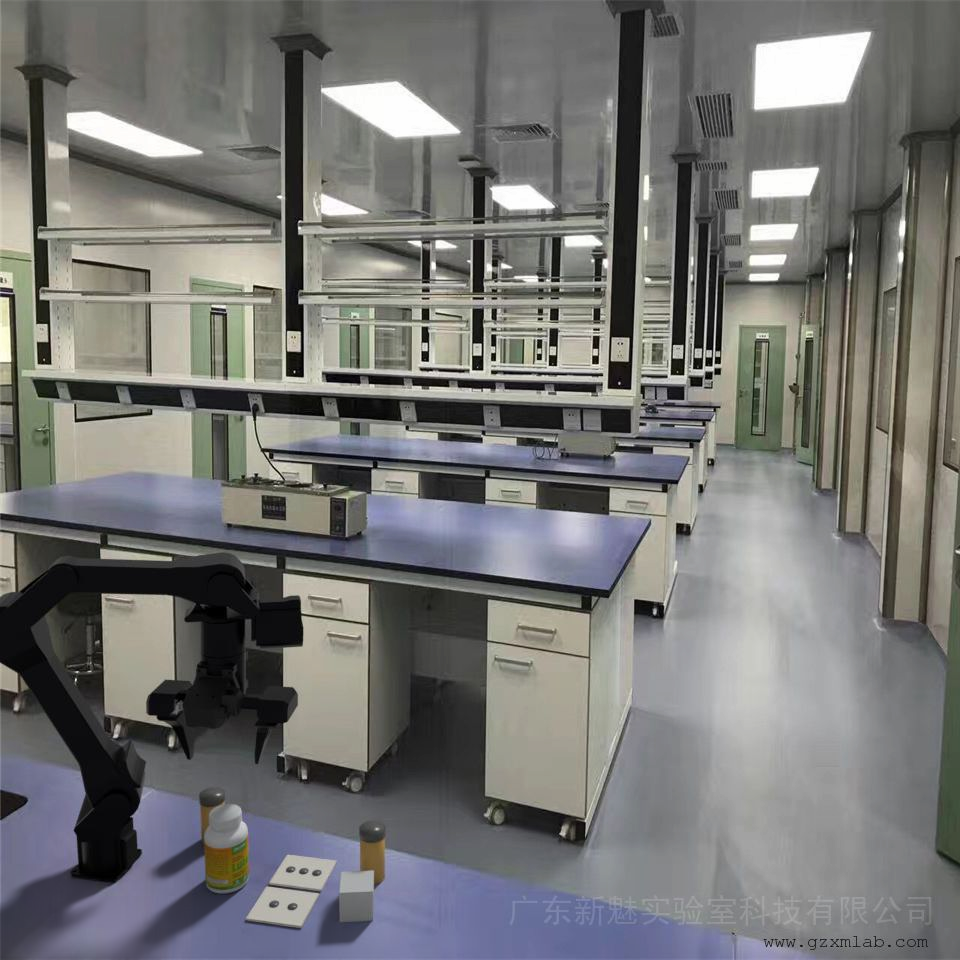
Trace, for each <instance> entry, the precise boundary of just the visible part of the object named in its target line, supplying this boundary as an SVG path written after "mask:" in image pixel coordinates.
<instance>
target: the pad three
mask: <svg viewBox="0 0 960 960" xmlns="http://www.w3.org/2000/svg"><path fill="white" fill-rule="evenodd" d="M337 864H338V860H335V859H325V858H319V857H310V856H301V855H293V854H287V855H286V856H285V858H284V859H283V860H282V862H281V864H280V865H279V866H278V868H277V870H276V872H275V873H274V874H273V875H272V876H273V877H271V879H270V881H268V882H269V883H268V884H269V886H275V887H276V886H277V887H284V888H292V889H299V890H306V891H307V890H308V891H314V892H322V891H323V889H324V887H325V886H326V884H327V881H329V879H330V877H331V874H333V871H334V870H335V868H336V866H337Z"/></svg>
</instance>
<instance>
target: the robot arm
mask: <svg viewBox="0 0 960 960" xmlns="http://www.w3.org/2000/svg"><path fill="white" fill-rule="evenodd" d="M70 594H88V595H89V594H98V595H102V594H103V595H138V596H139V595H142V596H144V595H147V596H148V595H149V596H170V597H176V598H179V599H183V600H184V601H188V602H191V603H193V604H192V605H191V606H190V607H188V608H187V609H185V613H184V622H185V623H199V646H200V647H199V650H200V651H199V653H200V655H199V659H200V660H199V662H198V663H197V665H196V669H195V670H196V671H195V677H194V680H193V683H191V681H190V680H183V679H182V680H180V679H179V680H178V679H176V680H175V679H164V680H163V681H162V682H161V683H159V685H158V686H157V687H155V689H154V690H152V691H151V692H150V693H149V694H148V695H147V698H146V701H145V702H146V703H145V706H146V707H145V708H146V709H145V711H146V714H147V715H148V716H152V717H153V716H154V717H156V719H157V721H158V722H164V723H166V724H168V725H169V726H170V727H171V728H172V730H173V731H174V733H175V735H176V737H177V738H178V741H179V744H180V745H181V748H182V750H183V752H184V754H185V757H186V759H187V761H188V760H189V761H191V760H192V759H193V758H194V755H195V754H194V753H195V742H196V741H195V740H196V739H195V728H196V727H197V728H198V727H199V728H200V727H201V728H209V729H210V730H211V729H213V730H215V729H219V728H221V727H222V726H223V725H224V724H225V722H226V720H229V719H230V718H231V717H235V718H237V717H239V716H240V713H241V711H242V710H256V717H257V718H258V719H257V721H256V722H255V724H254V728H255V731H256V732H255V733H256V735H255V744H254V745H255V746H254V764H255V765H259V764H260V763H261V760H262V758H263V757H262V756H263V754H264V751H265V749H266V747H267V743H268V741H269V738H270V735H271V732H272V730H273V729H275V728H278V727H279V726H280V725H281V724H287V723H288V722H289V720H290V719H291V717H292V716H293V714H294V712H295V711H296V710H297V707H298V706H299V694H298V691H297V690H296V689H295V688H294V686H281V685H280V686H279V685H268V686H267V687H266V689H265V690H264V692H263V693H262V694H256V693H247V692H246V691H247V689H248V687H249V679H248V678H246V675H247V674H246V670H247V669H246V668H247V666H246V665H247V664H246V663H247V662H246V661H247V660H248V658H249V650H246V648H247V647H246V645H247V644H246V642H247V641H246V620H250V642H251V643H252V642H253V643H255V647H259V650H266V649H284V648H286V649H287V648H288V649H289V648H301V647H303V645H304V624H303V619H302V600H301V596H299V595H289V596H284V597H283V596H282V597H263V598H261V597H260V594H259V592H258V591H257V589H256V588H255V587H254V586H253V585H252V584H251V582H250V581H249V580H248V579H247V577H246V570H245V567H244V564H243V562H242V561H241V560H240V558H238V557H237V555H235V554H233V553H230V552H225V551H224V552H215V553H214V552H213V553H206V554H199V555H194V556H190V557H187V558H183V559H178V560H155V559H154V560H152V559H151V560H149V559H147V560H146V559H123V558H122V559H120V558H119V559H118V558H94V557H93V558H90V557H89V558H88V557H86V558H84V557H76V556H73V555H66V556H61V557H59V558H57V559H55V561H54V562H53V563H52V564H51V566H50V567H48V569H45V570H44V572H42V573H40V574H39V575H38V576H36V577H35V578H34V579H33V580H31V581H30V582H29V583H28V584H27V585H25V586H24V587H22V589H20V590H19V591H10V592H7V593H3V594H2V595H0V664H2V665H3V666H5V667H6V668H8V669H10V670H11V671H13V672H15V673H16V674H18V675H19V676H20V677H21V679H22V680H23V682H24V683H25V685H26V686H27V688H28V690H29V691H30V693H31V694H32V696H33V697H34V699H35V700H36V702H37V703H38V704H39V707H40V708H41V709H42V711H43V712H44V714H45V716H46V717H47V719H48V720H49V721H50V723H51V725H52V726H53V727H54V729H55V731H56V732H57V733H58V735H59V736H60V738H61V740H62V741H63V743H64V744H65V746H66V747H67V749H68V750H69V752H70V754H71V755H72V756H73V758H74V759H75V761H76V762H77V765H78V767H79V770H80V775H81V778H82V779H81V780H82V782H83V788H84V792H85V793H84V794H85V795H84V797H83V800H82V803H81V807H80V810H79V812H78V816H77V819H76V822H75V825H74V827H73V832H74V834H75V836H76V848H77V849H76V850H77V852H76V853H77V862H78V863H77V865H76V866H75V867H74V868H73V869H72V870H71V871H70V877H72V878H79V879H86V880H87V879H88V880H94V881H95V880H96V881H103V882H110V883H114V882H115V883H116V882H117V881H118V880H119V879H120V878H121V877H122V876H123V875H124V873H126V872H127V871H128V870H129V868H130V867H131V866H132V865H133V864H134V863H135V862H136V861H137V860H138V858H139V857H141V856H142V855H143V850H142V849H141V848H138V835H137V833H138V832H137V830H136V829H135V828H134V817H132V816H134V815H135V814H136V812H137V810H138V809H139V807H140V804H141V800H142V795H143V792H144V791H143V790H144V786H145V781H146V771H145V770H146V765H147V761H146V760H144V759H143V758H142V757H141V756H140V755H139V753H138V752H137V749H136V748H135V744H134V742H133V741H132V740H128V742H126V743H125V744H123V745H121V744H119V743H118V742H115V741H114V740H112V739H111V738H110V736H109V735H108V733H107V732H106V731H105V729H104V728H103V726H102V724H101V723H100V721H99V720H98V718H97V716H96V715H95V713H94V712H93V710H92V708H91V707H90V705H89V704H88V702H87V701H86V699H85V697H84V696H83V694H82V693H81V692H80V689H79V688H78V686H76V683H75V682H74V681H73V679H72V678H71V676H70V675H69V672H67V670H66V668H65V666H64V665H63V663H62V662H61V660H60V658H59V657H58V655H57V654H56V652H55V649H54V646H53V641H52V637H51V633H50V628H49V627H50V626H49V624H48V621H47V618H46V615H47V614H48V613H49V612H50V611H51V610H53V609H54V608H55V607H56V606H57V605H58V604H59V603H60V602H61V601H63V600H64V598H66V597H67V596H68V595H70Z"/></svg>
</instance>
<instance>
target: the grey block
mask: <svg viewBox="0 0 960 960" xmlns="http://www.w3.org/2000/svg"><path fill="white" fill-rule="evenodd" d="M338 895H339V902H338V903H339V906H338V907H339V923H347V922H369V921H370V922H373V921H374V909H375V908H374V906H375V905H374V904H375V885H374V870H372V871H360V870H355V871H351V870H350V871H349V870H348V871H341V874H340V884H339V894H338Z"/></svg>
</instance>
